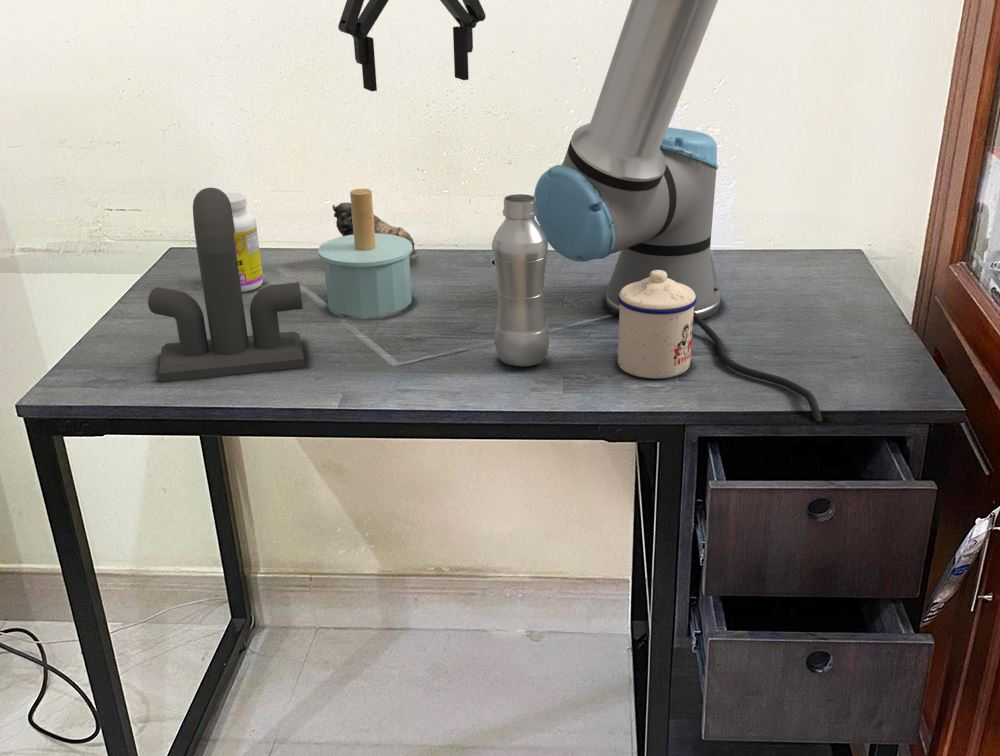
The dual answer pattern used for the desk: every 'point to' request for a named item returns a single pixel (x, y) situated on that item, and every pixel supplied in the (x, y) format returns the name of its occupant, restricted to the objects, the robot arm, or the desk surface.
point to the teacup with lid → (655, 327)
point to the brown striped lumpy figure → (346, 226)
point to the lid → (364, 239)
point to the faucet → (225, 309)
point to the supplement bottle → (246, 243)
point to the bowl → (368, 288)
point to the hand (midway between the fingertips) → (416, 84)
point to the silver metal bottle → (520, 284)
